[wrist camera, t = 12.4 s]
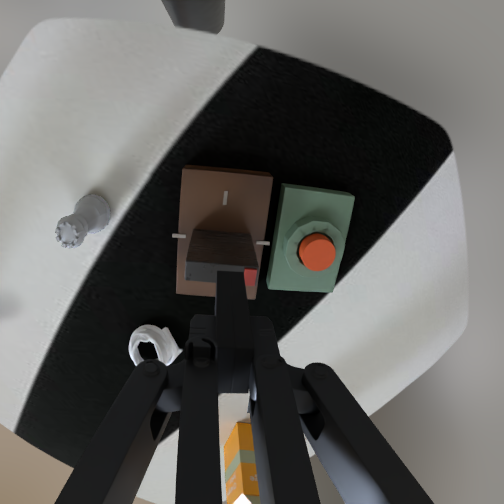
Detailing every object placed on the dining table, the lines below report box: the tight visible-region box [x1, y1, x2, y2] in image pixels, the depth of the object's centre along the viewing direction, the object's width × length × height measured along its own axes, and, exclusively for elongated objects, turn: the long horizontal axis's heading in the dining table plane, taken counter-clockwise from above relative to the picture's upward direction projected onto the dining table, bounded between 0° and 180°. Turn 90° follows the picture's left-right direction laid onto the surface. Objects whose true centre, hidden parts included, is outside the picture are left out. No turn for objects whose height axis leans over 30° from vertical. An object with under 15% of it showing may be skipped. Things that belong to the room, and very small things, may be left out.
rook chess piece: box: [55, 194, 110, 248], centre depth 31 cm, size 4×4×8 cm
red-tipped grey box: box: [184, 229, 259, 286], centre depth 30 cm, size 6×2×8 cm, turn 82°
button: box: [299, 234, 336, 271], centre depth 34 cm, size 4×4×2 cm
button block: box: [266, 183, 355, 292], centre depth 36 cm, size 12×8×4 cm, turn 173°
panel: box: [172, 165, 273, 299], centre depth 35 cm, size 14×10×3 cm
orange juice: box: [224, 422, 260, 504], centre depth 43 cm, size 8×9×20 cm
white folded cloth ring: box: [129, 325, 183, 366], centre depth 40 cm, size 8×7×5 cm
